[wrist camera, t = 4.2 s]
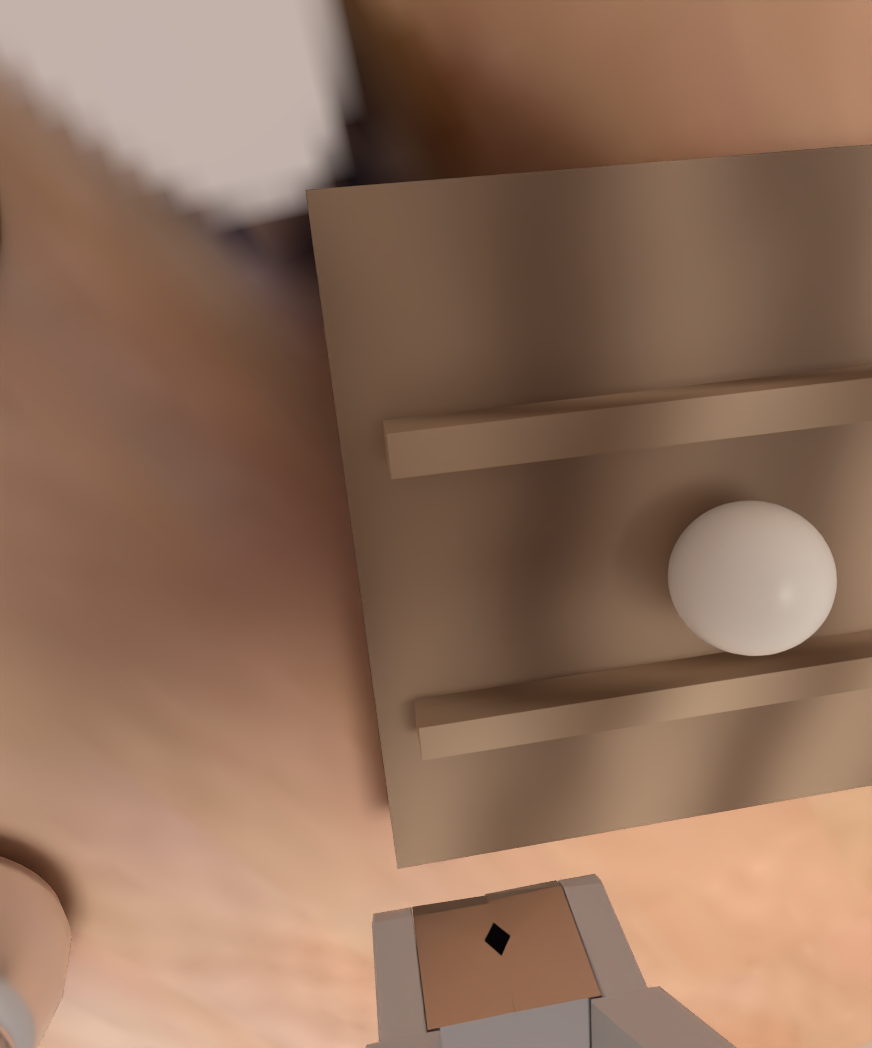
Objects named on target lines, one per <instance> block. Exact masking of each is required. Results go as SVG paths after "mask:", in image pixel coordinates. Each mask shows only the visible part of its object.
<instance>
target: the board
mask: <svg viewBox="0 0 872 1048" xmlns="http://www.w3.org/2000/svg"><path fill="white" fill-rule="evenodd" d="M306 197H307V205H308V212H309V220H310V227H311V234H312V242H313V249H314V256H315V264H316V271H317V278H318V286H319V293H320V301H321V308H322V315H323V323H324V330H325V337H326V345H327V352H328V359H329V367H330V374H331V382H332V389H333V396H334V404H335V411H336V418H337V426H338V433H339V440H340V448H341V455H342V462H343V470H344V477H345V485H346V492H347V499H348V507H349V514H350V521H351V529H352V536H353V543H354V551H355V558H356V566H357V573H358V580H359V588H360V595H361V602H362V610H363V617H364V624H365V632H366V639H367V647H368V654H369V661H370V669H371V676H372V683H373V691H374V698H375V705H376V713H377V720H378V728H379V735H380V742H381V750H382V757H383V764H384V772H385V779H386V786H387V794H388V801H389V808H390V816H391V823H392V831H393V838H394V845H395V853H396V860H397V867H398V869H400V868H405V867H411V866H417V865H422V864H428V863H434V862H439V861H445V860H451V859H456V858H462V857H468V856H473V855H479V854H485V853H490V852H496V851H502V850H507V849H513V848H519V847H524V846H530V845H536V844H541V843H547V842H553V841H558V840H564V839H570V838H575V837H581V836H587V835H593V834H598V833H604V832H610V831H615V830H621V829H627V828H632V827H638V826H644V825H649V824H655V823H661V822H666V821H672V820H678V819H683V818H689V817H695V816H700V815H706V814H712V813H717V812H723V811H729V810H734V809H740V808H746V807H751V806H757V805H763V804H768V803H774V802H780V801H785V800H791V799H797V798H802V797H808V796H814V795H819V794H825V793H831V792H837V791H842V790H848V789H854V788H859V787H865V786H871V785H872V144H871V145H859V146H846V147H834V148H821V149H809V150H797V151H784V152H772V153H759V154H747V155H734V156H722V157H709V158H697V159H685V160H672V161H660V162H647V163H635V164H622V165H610V166H598V167H585V168H573V169H560V170H548V171H535V172H523V173H511V174H498V175H486V176H473V177H461V178H448V179H436V180H423V181H411V182H399V183H386V184H374V185H361V186H349V187H336V188H324V189H312V190H306ZM747 500H748V501H764V502H768V503H773V504H777V505H780V506H782V507H785V508H787V509H790V510H792V511H793V512H795V513H797V514H799V515H800V516H802V517H803V518H804V519H806V520H807V521H808V522H809V523H811V524H812V525H813V526H814V527H815V528H816V530H817V531H818V532H819V533H820V534H821V535H822V537H823V538H824V540H825V542H826V543H827V545H828V547H829V548H830V551H831V553H832V556H833V559H834V562H835V566H836V574H837V589H836V594H835V599H834V602H833V605H832V608H831V610H830V612H829V614H828V616H827V618H826V619H825V621H824V622H823V624H822V625H821V626H820V627H819V629H818V630H817V631H816V632H815V633H814V634H813V635H811V636H810V637H809V638H808V639H806V640H805V641H804V642H802V643H800V644H799V645H797V646H795V647H793V648H791V649H788V650H786V651H782V652H779V653H776V654H771V655H763V656H746V655H740V654H733V653H730V652H727V651H724V650H721V649H718V648H716V647H714V646H712V645H710V644H709V643H707V642H705V641H704V640H702V639H701V638H700V637H698V636H697V635H696V634H695V633H694V632H693V631H692V630H691V629H690V628H688V626H687V625H686V624H685V622H684V621H683V620H682V618H681V617H680V616H679V614H678V612H677V610H676V608H675V606H674V604H673V602H672V599H671V596H670V591H669V586H668V566H669V560H670V556H671V553H672V551H673V548H674V546H675V544H676V542H677V540H678V538H679V537H680V535H681V534H682V532H683V531H684V530H685V529H686V528H687V527H688V526H689V525H690V524H691V523H692V522H693V521H694V520H695V519H696V518H698V517H699V516H700V515H702V514H704V513H705V512H707V511H709V510H711V509H713V508H715V507H717V506H720V505H723V504H727V503H731V502H736V501H747Z"/></svg>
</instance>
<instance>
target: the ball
mask: <svg viewBox="0 0 872 1048" xmlns="http://www.w3.org/2000/svg"><path fill="white" fill-rule="evenodd" d="M668 586H669V591H670V596H671V599H672V602H673V604H674V606H675V608H676V610H677V612H678V614H679V616H680V617H681V618H682V620H683V621H684V622H685V624H686V625H687V626H688V628H690V629H691V630H692V631H693V632H694V633H695V634H696V635H697V636H698V637H700V638H701V639H702V640H704V641H705V642H707V643H709V644H710V645H712V646H714V647H716V648H718V649H721V650H724V651H727V652H730V653H733V654H740V655H746V656H763V655H771V654H776V653H779V652H782V651H786V650H788V649H791V648H793V647H795V646H797V645H799V644H800V643H802V642H804V641H805V640H806V639H808V638H809V637H810V636H811V635H813V634H814V633H815V632H816V631H817V630H818V629H819V627H820V626H821V625H822V624H823V622H824V621H825V619H826V618H827V616H828V614H829V612H830V610H831V608H832V605H833V602H834V599H835V594H836V589H837V574H836V566H835V562H834V559H833V556H832V553H831V551H830V548H829V547H828V545H827V543H826V542H825V540H824V538H823V537H822V535H821V534H820V533H819V532H818V531H817V530H816V528H815V527H814V526H813V525H812V524H811V523H809V522H808V521H807V520H806V519H804V518H803V517H802V516H800V515H799V514H797V513H795V512H793V511H792V510H790V509H787V508H785V507H782V506H780V505H777V504H773V503H768V502H764V501H748V500H747V501H736V502H731V503H727V504H723V505H720V506H717V507H715V508H713V509H711V510H709V511H707V512H705V513H704V514H702V515H700V516H699V517H698V518H696V519H695V520H694V521H693V522H692V523H691V524H690V525H689V526H688V527H687V528H686V529H685V530H684V531H683V532H682V534H681V535H680V537H679V538H678V540H677V542H676V544H675V546H674V548H673V551H672V553H671V556H670V560H669V566H668Z"/></svg>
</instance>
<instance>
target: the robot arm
mask: <svg viewBox="0 0 872 1048" xmlns="http://www.w3.org/2000/svg"><path fill="white" fill-rule="evenodd" d="M412 909H413V915H412ZM412 909H411V908H405V909H399V910H393V911H387V912H381V913H375V914H373V922H372V932H373V949H374V966H375V983H376V1000H377V1017H378V1034H379V1042H376V1043H372V1044H368V1045H367V1046H366V1048H736V1047H735V1046H734V1045H733V1044H731V1043H730V1042H729V1041H728V1040H726V1039H725V1038H724V1037H723V1036H721V1035H720V1034H719V1033H718V1032H716V1031H715V1030H714V1029H713V1028H711V1027H710V1026H709V1025H707V1024H706V1023H705V1022H704V1021H702V1020H701V1019H700V1018H699V1017H697V1016H696V1015H695V1014H694V1013H692V1012H691V1011H690V1010H689V1009H687V1008H686V1007H685V1006H684V1005H682V1004H681V1003H680V1002H679V1001H677V1000H676V999H675V998H673V997H672V996H671V995H670V994H668V993H667V992H666V991H665V990H663V989H662V988H661V987H660V986H658V987H652V988H647V985H646V983H645V981H644V978H643V976H642V974H641V971H640V969H639V967H638V965H637V962H636V960H635V958H634V955H633V953H632V951H631V948H630V946H629V944H628V942H627V939H626V937H625V935H624V932H623V930H622V928H621V926H620V923H619V921H618V919H617V916H616V914H615V912H614V909H613V907H612V905H611V903H610V900H609V898H608V896H607V893H606V891H605V889H604V886H603V884H602V882H601V880H600V879H599V878H598V877H597V876H596V875H595V874H591V875H586V876H580V877H575V878H569V879H564V880H559V881H558V882H557V881H556V880H555V881H550V882H545V883H540V884H535V885H530V886H525V887H520V888H515V889H510V890H505V891H500V892H495V893H489V894H485V896H480V897H473V898H467V899H460V900H454V901H448V902H441V903H435V904H428V905H422V906H415V907H412ZM413 919H414V922H413ZM414 927H415V929H414Z"/></svg>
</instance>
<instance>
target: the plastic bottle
mask: <svg viewBox="0 0 872 1048" xmlns="http://www.w3.org/2000/svg"><path fill="white" fill-rule="evenodd" d="M71 940H72V938H71V931H70V924H69V922H68V920H67V917H66V915H65V913H64V910H63V908H62V906H61V904H60V901H59V899H58V897H57V895H56V893H55V892H54V891H53V890H52V888H51V887H50V886H49V884H48V883H47V882H46V881H44V880H43V879H42V878H41V877H40V876H38V875H37V874H36V873H35V872H33V871H31V870H30V869H28V868H26V867H24V866H23V865H21V864H19V863H16V862H13V861H11V860H8V859H6V858H3V857H0V1048H38V1047H39V1044H40V1042H41V1040H42V1038H43V1036H44V1034H45V1032H46V1030H47V1028H48V1026H49V1024H50V1022H51V1020H52V1018H53V1015H54V1013H55V1011H56V1009H57V1007H58V1005H59V1003H60V1001H61V999H62V997H63V992H64V986H65V979H66V973H67V966H68V960H69V953H70V947H71Z"/></svg>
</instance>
